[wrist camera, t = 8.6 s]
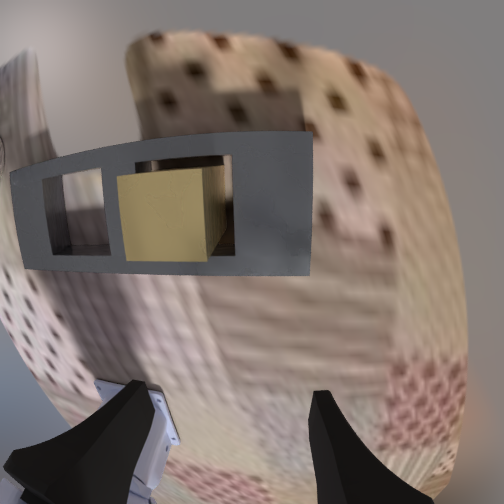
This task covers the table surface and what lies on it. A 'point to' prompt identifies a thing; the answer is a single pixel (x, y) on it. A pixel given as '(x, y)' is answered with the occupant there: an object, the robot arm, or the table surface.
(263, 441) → the table surface
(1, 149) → the beer glass
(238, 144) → the rail
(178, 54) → the table surface
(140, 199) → the block
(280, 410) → the table surface
